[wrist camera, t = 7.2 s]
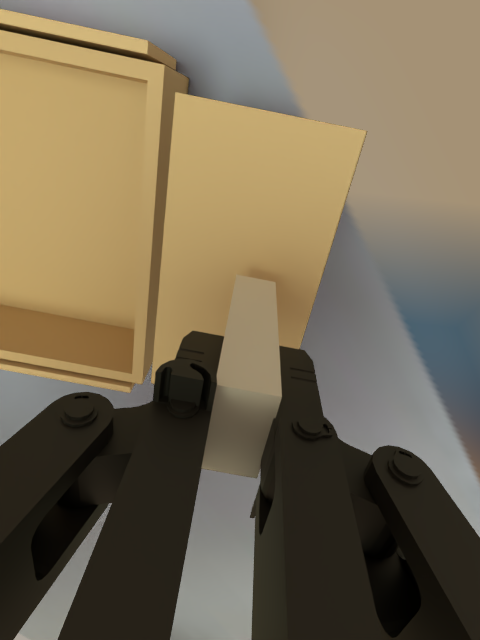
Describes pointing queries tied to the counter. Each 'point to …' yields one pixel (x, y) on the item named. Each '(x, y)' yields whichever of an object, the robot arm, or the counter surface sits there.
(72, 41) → the tan shallow open box
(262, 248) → the flap
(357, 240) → the counter surface
